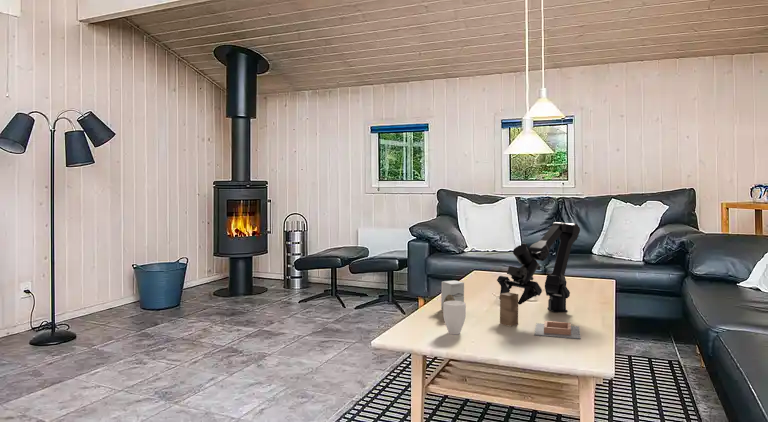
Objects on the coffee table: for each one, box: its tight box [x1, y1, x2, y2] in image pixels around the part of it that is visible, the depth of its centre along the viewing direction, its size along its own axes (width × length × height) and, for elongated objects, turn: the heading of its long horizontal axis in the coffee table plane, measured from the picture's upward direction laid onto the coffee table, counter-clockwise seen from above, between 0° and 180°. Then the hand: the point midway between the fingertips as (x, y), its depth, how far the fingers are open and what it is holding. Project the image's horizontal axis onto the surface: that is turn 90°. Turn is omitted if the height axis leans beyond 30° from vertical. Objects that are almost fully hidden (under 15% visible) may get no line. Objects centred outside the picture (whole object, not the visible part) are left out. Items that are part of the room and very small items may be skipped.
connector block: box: [499, 291, 519, 327], centre depth 214 cm, size 5×5×12 cm
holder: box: [533, 320, 581, 340], centre depth 204 cm, size 16×16×2 cm
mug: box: [442, 301, 467, 335], centre depth 204 cm, size 12×8×11 cm
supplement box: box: [440, 279, 465, 310], centre depth 237 cm, size 7×7×13 cm
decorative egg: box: [441, 294, 455, 312], centre depth 223 cm, size 6×6×10 cm
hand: (509, 301), depth 214 cm, fingers open, 9 cm apart
